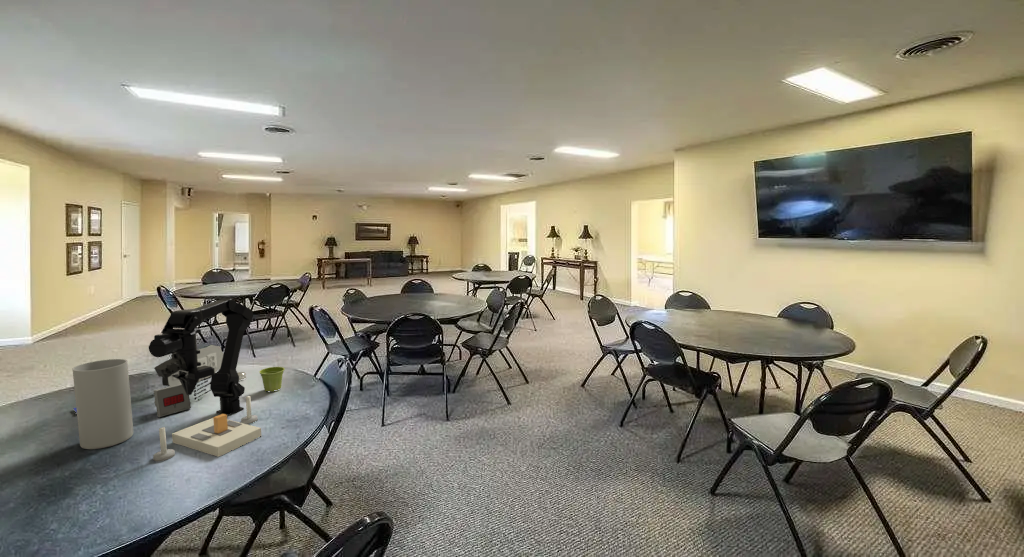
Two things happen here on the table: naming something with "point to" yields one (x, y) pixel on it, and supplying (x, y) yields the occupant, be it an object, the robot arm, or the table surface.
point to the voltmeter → (174, 399)
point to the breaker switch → (220, 423)
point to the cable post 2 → (249, 413)
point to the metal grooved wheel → (241, 375)
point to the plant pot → (272, 378)
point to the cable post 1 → (163, 448)
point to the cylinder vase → (103, 403)
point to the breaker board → (216, 437)
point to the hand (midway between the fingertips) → (189, 394)
